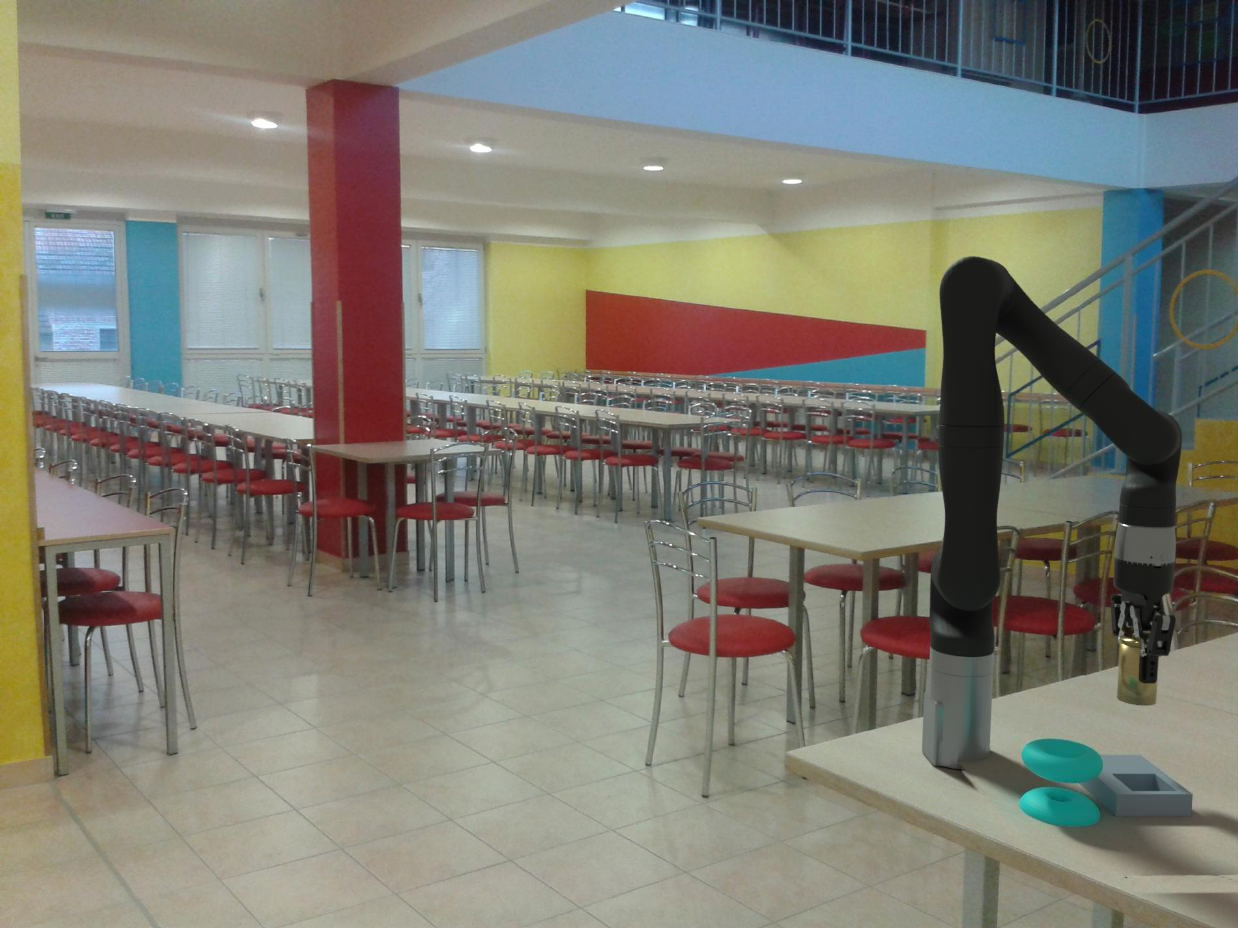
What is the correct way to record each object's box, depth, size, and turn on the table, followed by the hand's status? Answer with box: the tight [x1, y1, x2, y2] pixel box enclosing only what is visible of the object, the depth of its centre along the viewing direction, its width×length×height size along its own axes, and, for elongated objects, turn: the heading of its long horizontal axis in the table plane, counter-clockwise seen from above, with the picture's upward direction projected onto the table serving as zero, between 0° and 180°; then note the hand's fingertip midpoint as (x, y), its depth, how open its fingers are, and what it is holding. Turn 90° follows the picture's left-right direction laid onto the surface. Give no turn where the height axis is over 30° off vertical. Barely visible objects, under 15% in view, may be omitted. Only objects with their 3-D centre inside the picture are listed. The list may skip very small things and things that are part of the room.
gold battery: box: [1116, 631, 1160, 707], centre depth 154 cm, size 5×5×10 cm
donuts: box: [1018, 738, 1103, 828], centre depth 146 cm, size 10×10×10 cm
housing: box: [1078, 754, 1194, 818], centre depth 152 cm, size 10×14×4 cm
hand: (1137, 675), depth 154 cm, fingers closed on gold battery, 5 cm apart
